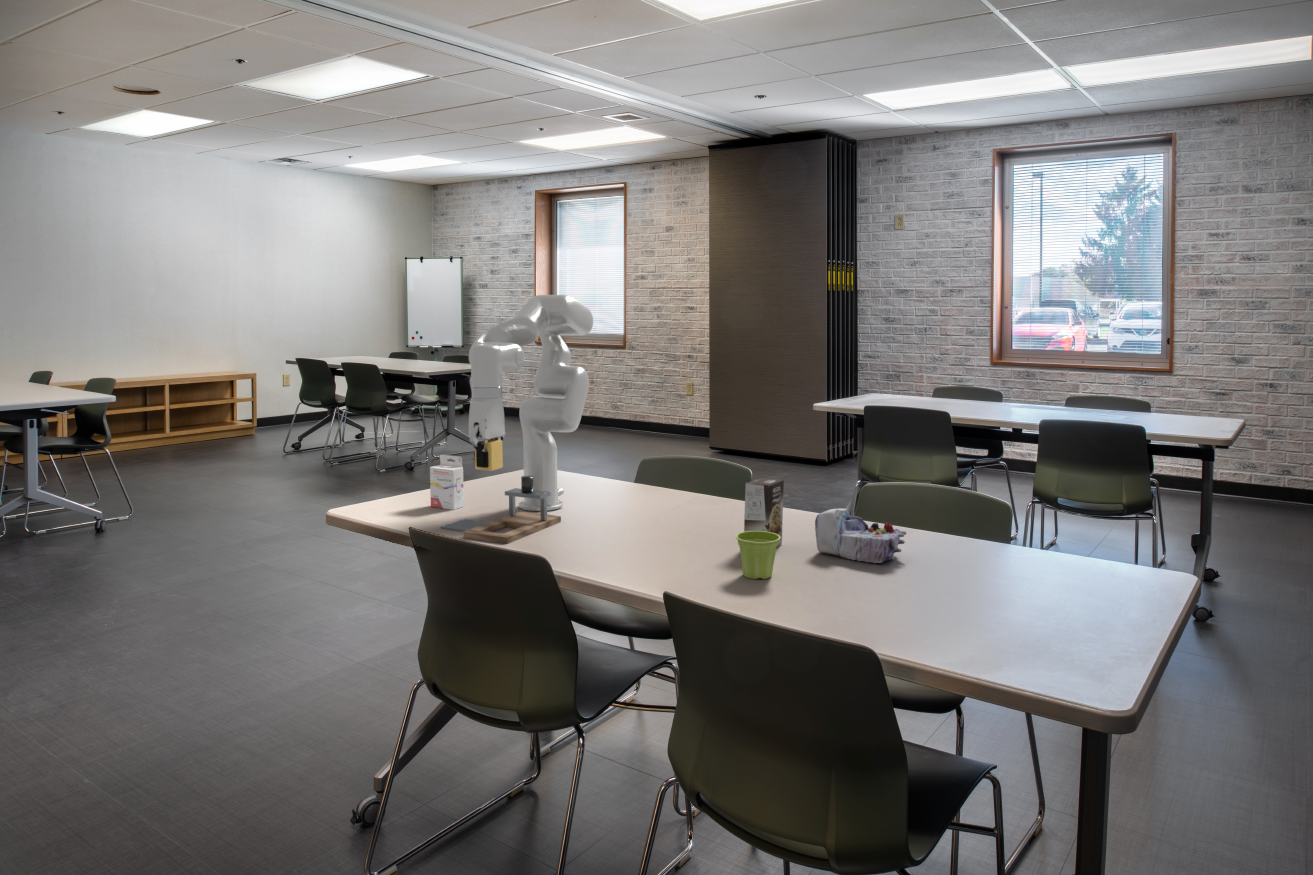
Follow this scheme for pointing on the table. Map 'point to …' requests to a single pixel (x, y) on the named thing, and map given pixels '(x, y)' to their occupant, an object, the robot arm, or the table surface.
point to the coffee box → (764, 506)
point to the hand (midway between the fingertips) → (488, 464)
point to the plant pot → (757, 553)
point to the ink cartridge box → (447, 483)
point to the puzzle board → (522, 523)
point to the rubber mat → (464, 525)
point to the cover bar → (528, 496)
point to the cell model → (855, 537)
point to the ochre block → (493, 455)
